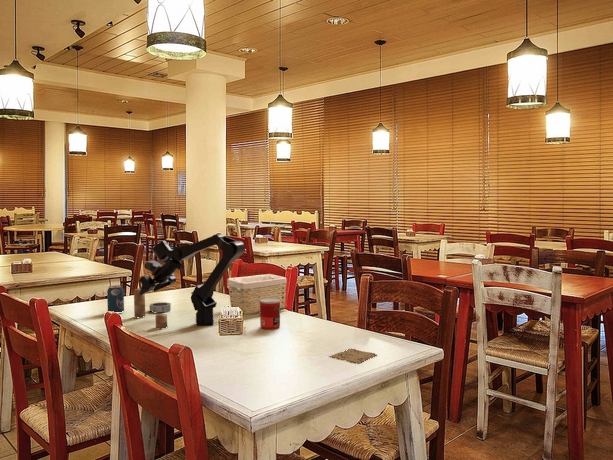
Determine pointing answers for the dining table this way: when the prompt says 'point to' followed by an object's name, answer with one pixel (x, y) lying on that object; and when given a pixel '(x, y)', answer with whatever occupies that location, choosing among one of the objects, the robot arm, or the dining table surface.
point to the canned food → (270, 313)
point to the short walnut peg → (161, 320)
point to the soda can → (115, 298)
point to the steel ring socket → (160, 307)
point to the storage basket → (256, 291)
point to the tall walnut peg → (139, 304)
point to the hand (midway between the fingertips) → (147, 292)
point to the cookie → (354, 355)
